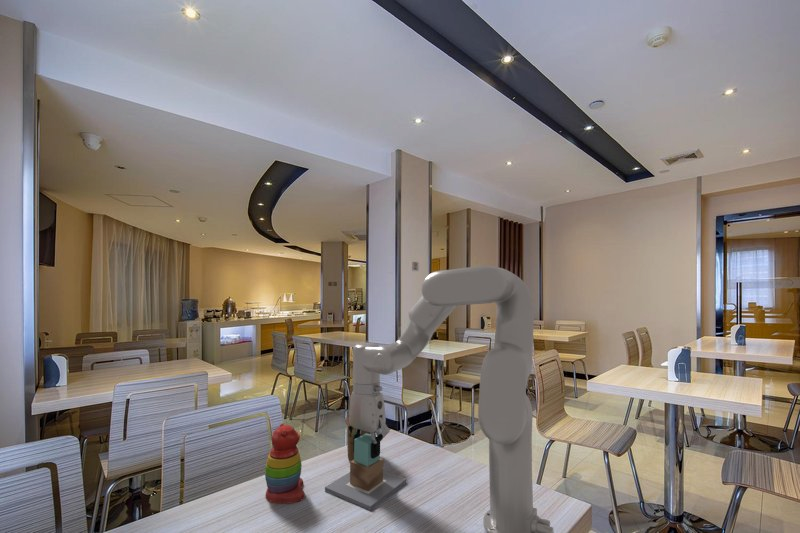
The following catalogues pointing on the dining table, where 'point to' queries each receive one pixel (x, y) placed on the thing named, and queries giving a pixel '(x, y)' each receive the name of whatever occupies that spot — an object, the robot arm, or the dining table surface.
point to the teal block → (364, 450)
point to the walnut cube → (366, 474)
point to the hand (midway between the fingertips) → (366, 453)
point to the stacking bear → (284, 467)
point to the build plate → (364, 497)
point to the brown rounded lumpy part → (351, 439)
